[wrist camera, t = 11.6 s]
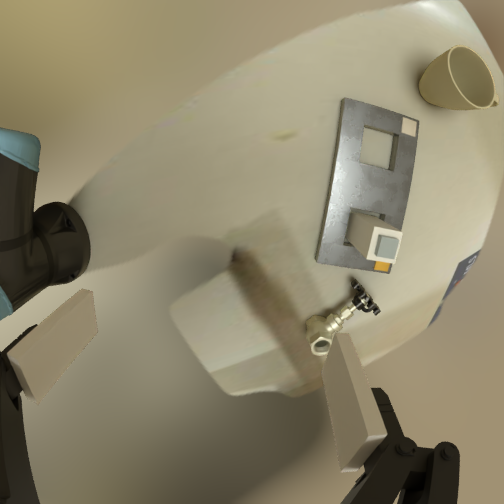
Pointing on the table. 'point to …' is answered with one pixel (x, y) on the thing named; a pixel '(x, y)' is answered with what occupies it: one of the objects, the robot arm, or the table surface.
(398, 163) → the grey slotted tray
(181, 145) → the table surface
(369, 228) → the plug
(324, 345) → the valve
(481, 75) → the mug
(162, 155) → the table surface
